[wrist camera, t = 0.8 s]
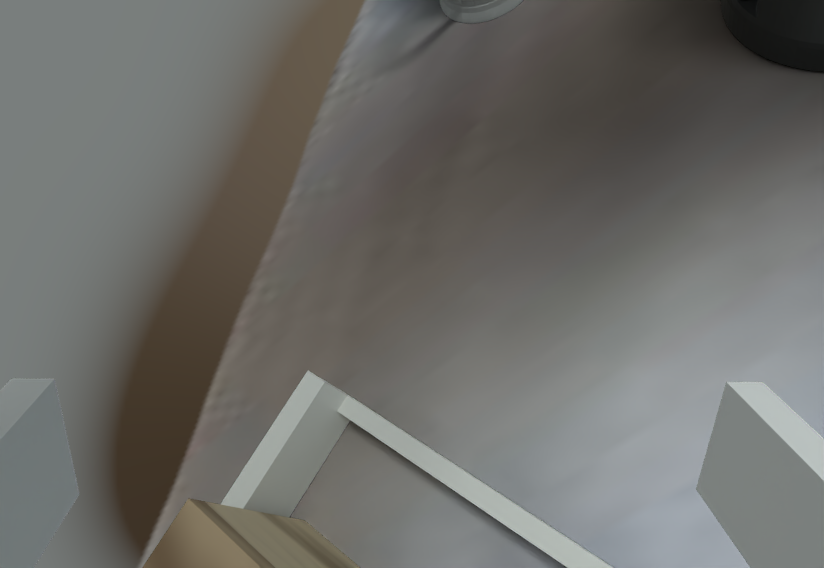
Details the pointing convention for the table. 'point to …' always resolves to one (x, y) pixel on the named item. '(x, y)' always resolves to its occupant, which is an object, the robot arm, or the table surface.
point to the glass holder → (477, 9)
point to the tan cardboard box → (242, 541)
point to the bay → (332, 411)
